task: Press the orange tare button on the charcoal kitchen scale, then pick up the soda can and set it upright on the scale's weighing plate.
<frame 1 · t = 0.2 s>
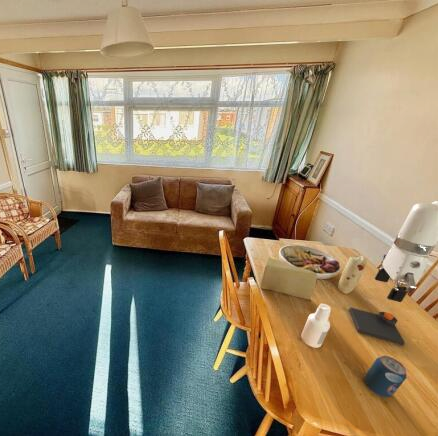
hand: (386, 289, 74), 30 cm above the table, tool pointing down, fingers open, 9 cm apart
tare button: (388, 316, 97), point 4 cm above the table, slide at 0.1 cm
bowl: (305, 265, 136), on the table
soda can: (376, 387, 75), on the table
white bottle: (310, 340, 91), on the table
cheese: (283, 291, 116), on the table
food model: (344, 290, 117), on the table
scale: (373, 326, 97), on the table
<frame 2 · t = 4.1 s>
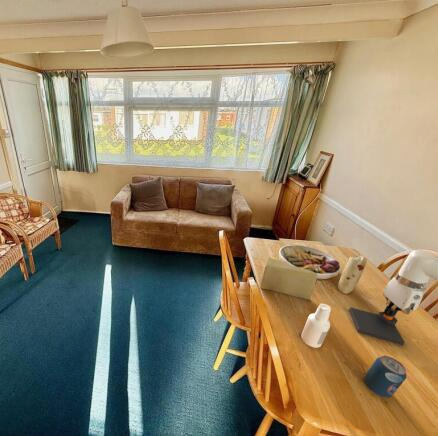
hand: (388, 314, 96), 5 cm above the table, tool pointing down, fingers closed
tare button: (388, 316, 97), point 4 cm above the table, slide at 0.1 cm, touching gripper
everything else where it was.
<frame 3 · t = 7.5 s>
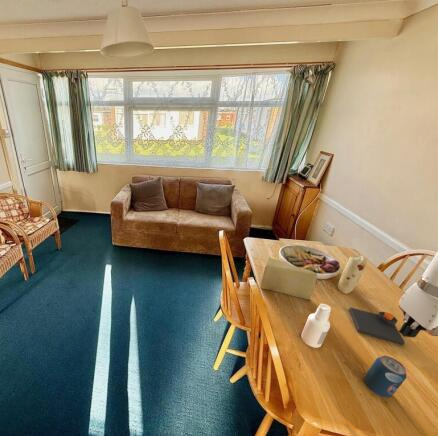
hand: (406, 334, 70), 21 cm above the table, tool pointing down, fingers closed
tare button: (388, 316, 97), point 4 cm above the table, slide at 0.1 cm
everything else where it was.
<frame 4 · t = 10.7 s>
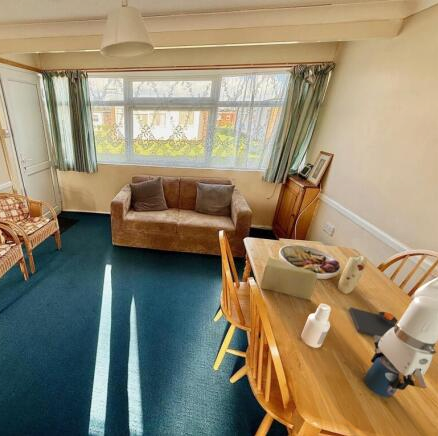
hand: (386, 374, 72), 7 cm above the table, tool pointing down, fingers closed on soda can, 7 cm apart
soda can: (376, 387, 75), on the table, touching gripper
everything else where it was.
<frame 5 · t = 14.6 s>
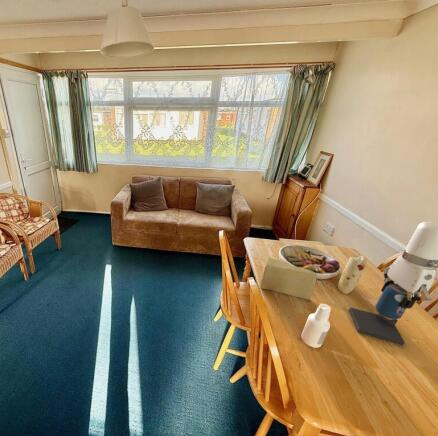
hand: (395, 298, 82), 21 cm above the table, tool pointing down, fingers closed on soda can, 7 cm apart
soda can: (386, 313, 85), point 14 cm above the table, touching gripper
everything else where it was.
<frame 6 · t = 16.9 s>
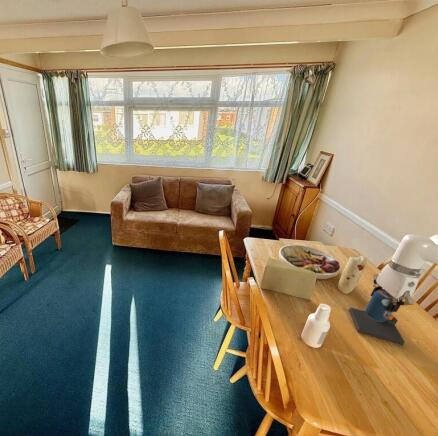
hand: (382, 303, 90), 14 cm above the table, tool pointing down, fingers closed on soda can, 7 cm apart
soda can: (374, 316, 93), point 6 cm above the table, touching gripper
everything else where it was.
when the fingers open (9 cm above the table, at t = 18.7 s): soda can stays where it is, resting on scale.
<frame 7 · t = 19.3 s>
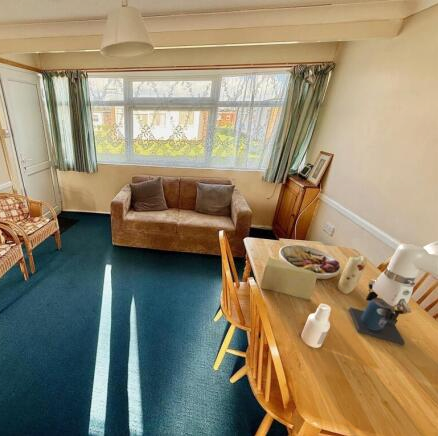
hand: (379, 309, 92), 10 cm above the table, tool pointing down, fingers open, 9 cm apart
soda can: (370, 324, 95), point 2 cm above the table, touching scale
everything else where it was.
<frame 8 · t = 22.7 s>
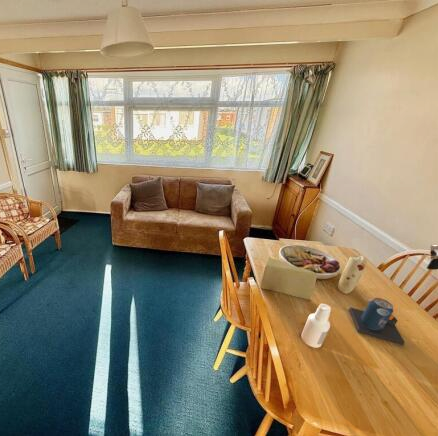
nothing on the table moved.
at the end: tare button pushed in 0.9 cm at the most during the clip, back to where it started at the end; tare button slide at 0.1 cm; soda can inside the target area on the scale (2.5 cm from its centre), point 1.7 cm above the scale's base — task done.
